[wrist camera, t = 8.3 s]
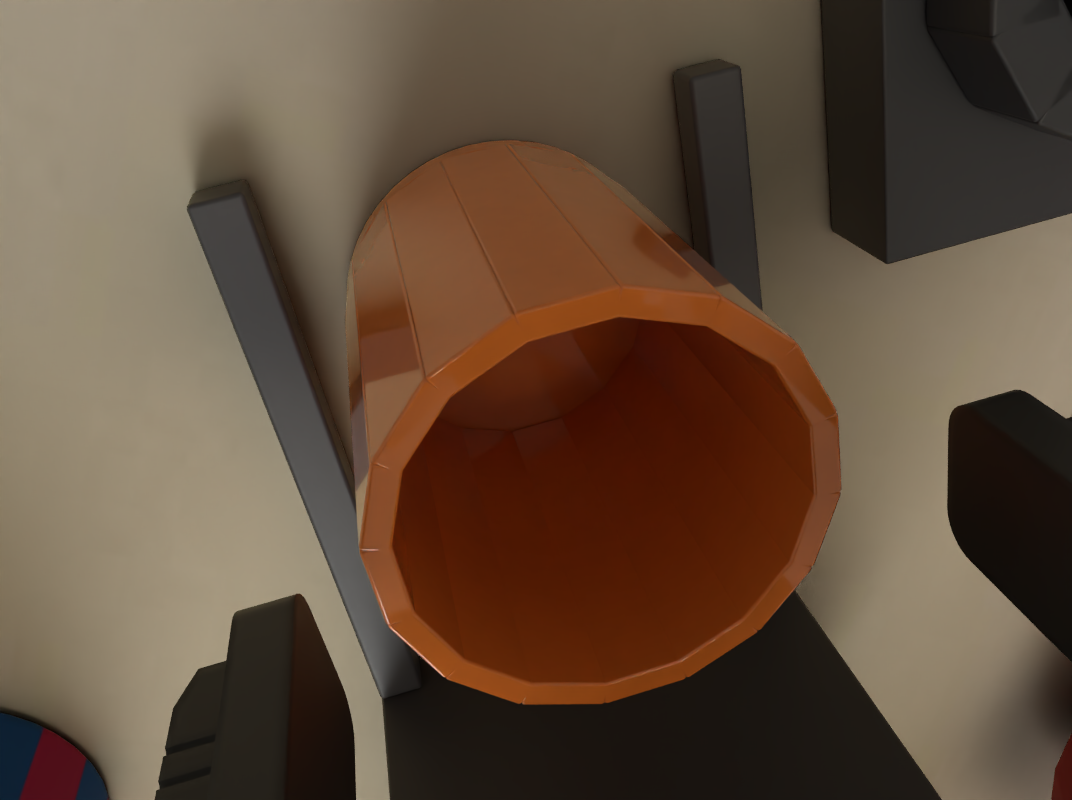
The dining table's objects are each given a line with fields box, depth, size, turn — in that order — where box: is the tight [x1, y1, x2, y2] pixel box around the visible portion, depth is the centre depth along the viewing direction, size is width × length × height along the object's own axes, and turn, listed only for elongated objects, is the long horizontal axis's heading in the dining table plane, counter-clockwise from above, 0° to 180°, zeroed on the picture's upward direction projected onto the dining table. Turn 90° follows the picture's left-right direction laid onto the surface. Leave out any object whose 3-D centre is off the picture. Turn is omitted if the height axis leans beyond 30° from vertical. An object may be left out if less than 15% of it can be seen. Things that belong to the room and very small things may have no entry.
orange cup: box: [345, 140, 841, 705], centre depth 15 cm, size 6×6×8 cm
